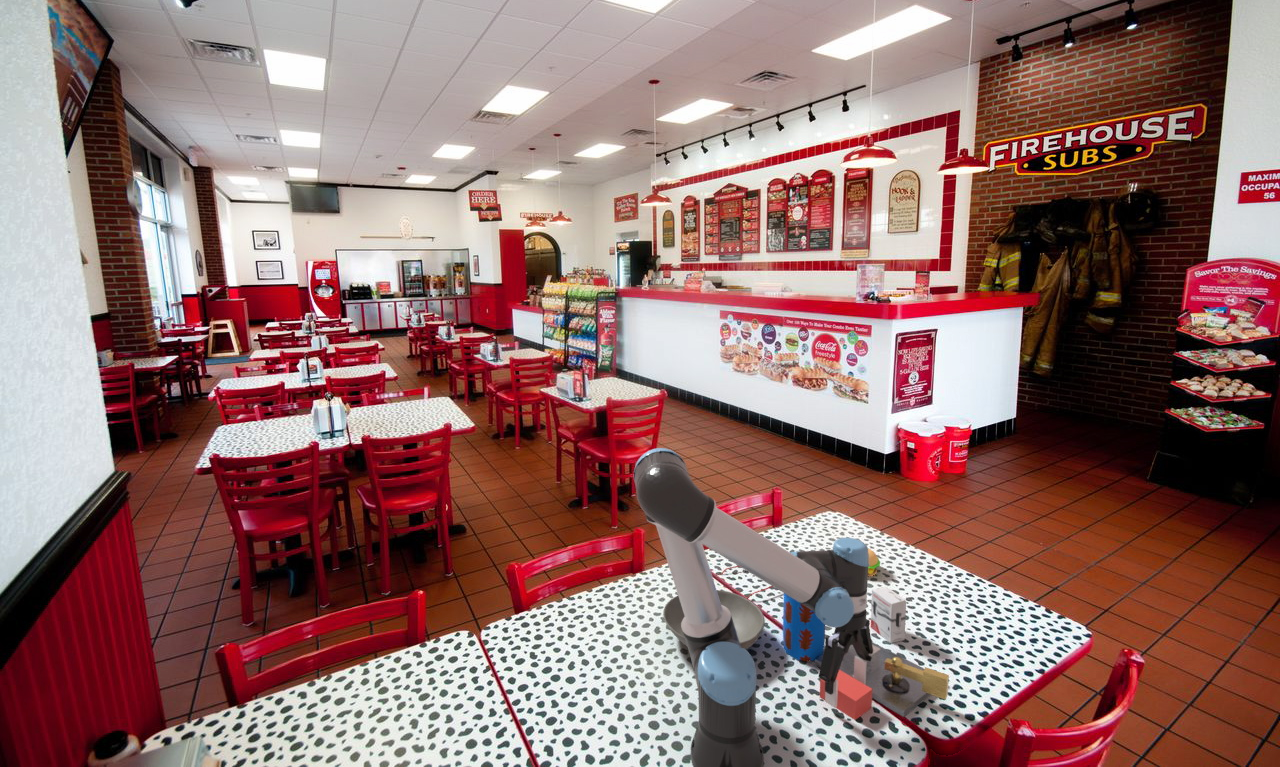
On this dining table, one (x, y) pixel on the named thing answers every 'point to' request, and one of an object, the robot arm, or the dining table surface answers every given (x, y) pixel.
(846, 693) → the cover
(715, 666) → the robot arm
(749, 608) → the bowl
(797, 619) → the thermos
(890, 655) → the panel
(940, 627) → the dining table surface
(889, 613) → the ink box
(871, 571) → the hamburger
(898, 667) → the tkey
